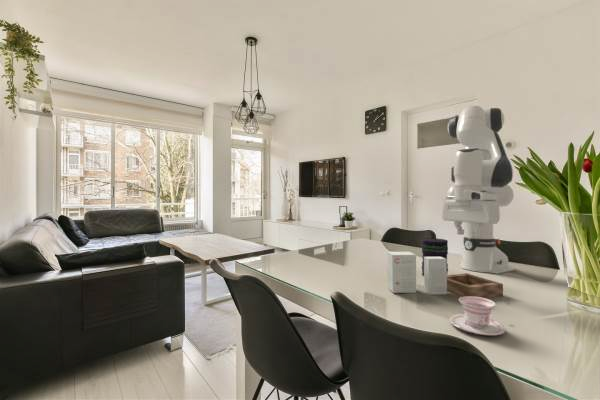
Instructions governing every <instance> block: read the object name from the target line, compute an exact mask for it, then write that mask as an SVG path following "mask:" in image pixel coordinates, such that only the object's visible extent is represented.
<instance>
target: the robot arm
mask: <svg viewBox="0 0 600 400" xmlns="http://www.w3.org/2000/svg"><path fill="white" fill-rule="evenodd" d="M504 124H505V114H504V113H503V111H502V109H500V108H499V107H498V108H497V107H491V108H489V109H488V108H486V109H484V108H482V107H481V106H479V105H469V106H467V107H465V108H464V109H463V110H461V112H460V114H459V115H458V114H457V115H455V116H452V117H451V118H450V119H448V123H447V132H448V135H449V136H450V137H451V138H453V139H457V141H458V142H459V143H460V144H461V145H463V146H464V148H463V149H459V150H457V151H455V155H454V162H453V166H452V167H451V171H450V172H451V174H450V176H451V177H450V180H451V182H453V185H451V186H450V187H449V188H448V190H447V192H446V197H445V198H444V200H443V201H444V203H443V206H442V214H441V217H442V220H443V221H447V222H453V225H454V227H455V229H456V233H457V235H461V236H463V235H464V237H463V239H462V241H463V246H464V247H463V249H462V257H461V262H460V268H461V269H465V270H467V271H468V270H469V271H472V272H478V273H479V272H481V273H491V274H498V275H499V274H502V273H507V272H513V271H515V270H516V268H515V267H514V266H511V265H509V257H508V256H507V255H506V253H505V252H503V251H501V250H500V248H498V247H497V244H498V245H500V244H501V240H500V239H499V238H498V239H497V238H494V225H497V224H498V223H499V222H500V219H501V218H500V214H501V213H500V208H501V207H507V206H508V205H510V204H511V203H512V201H513V200H514V191H513V189H512V187H511V186H510V185H509V184H510V183H511V182H512V181H513V178H514V168H513V166H512V163H511V162H510V161H511V160H510V159H509V158H508V156H507V154H506V150H505V148H504V144H503V142H502V140H501V137H500V135H499V132H500V130H502V128H503V125H504ZM462 225H463V226H462ZM463 227H464V229H463Z"/></svg>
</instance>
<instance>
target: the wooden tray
mask: <svg viewBox="0 0 600 400" xmlns="http://www.w3.org/2000/svg"><path fill="white" fill-rule="evenodd" d="M447 293H449V294H453V295H455V296H456V297H457V296H458V297H459V298H461V297H465V296H474V297H481V298H486V299H490V298H498V297H503V296H504V284H503V283H502V282H498V281H495V280H491V279H487V278H484V277H481V276H477V275H473V274H471V273H467V272H466V273H457V274H447Z"/></svg>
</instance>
